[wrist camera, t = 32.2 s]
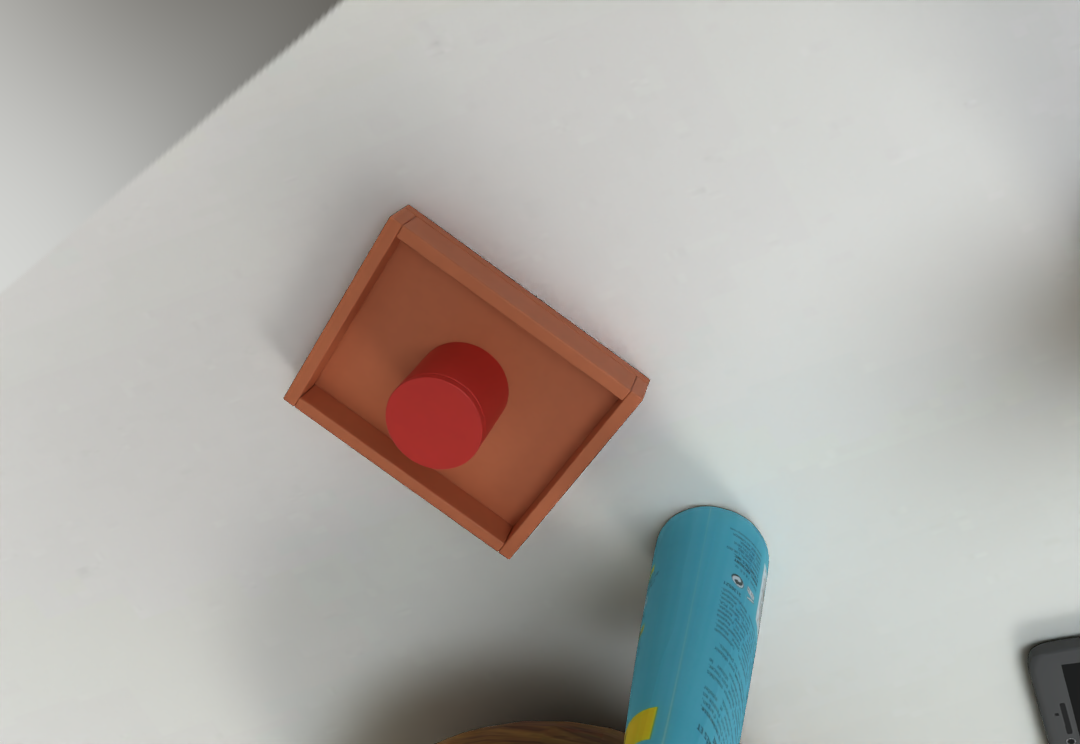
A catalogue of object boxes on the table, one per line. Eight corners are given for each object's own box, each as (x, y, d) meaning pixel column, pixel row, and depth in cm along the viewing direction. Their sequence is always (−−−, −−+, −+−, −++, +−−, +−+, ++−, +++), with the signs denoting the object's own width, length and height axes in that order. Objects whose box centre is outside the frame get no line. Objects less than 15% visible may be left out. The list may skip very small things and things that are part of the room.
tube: (637, 488, 41) (519, 864, 24) (748, 471, 40) (705, 861, 23) (680, 628, 44) (600, 1059, 27) (786, 617, 42) (774, 1070, 25)
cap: (505, 437, 42) (479, 480, 38) (417, 419, 42) (384, 460, 39) (512, 350, 40) (485, 387, 36) (420, 334, 41) (385, 368, 37)
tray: (303, 380, 44) (282, 398, 42) (408, 203, 39) (390, 215, 37) (520, 535, 44) (508, 560, 42) (650, 379, 39) (643, 399, 38)
